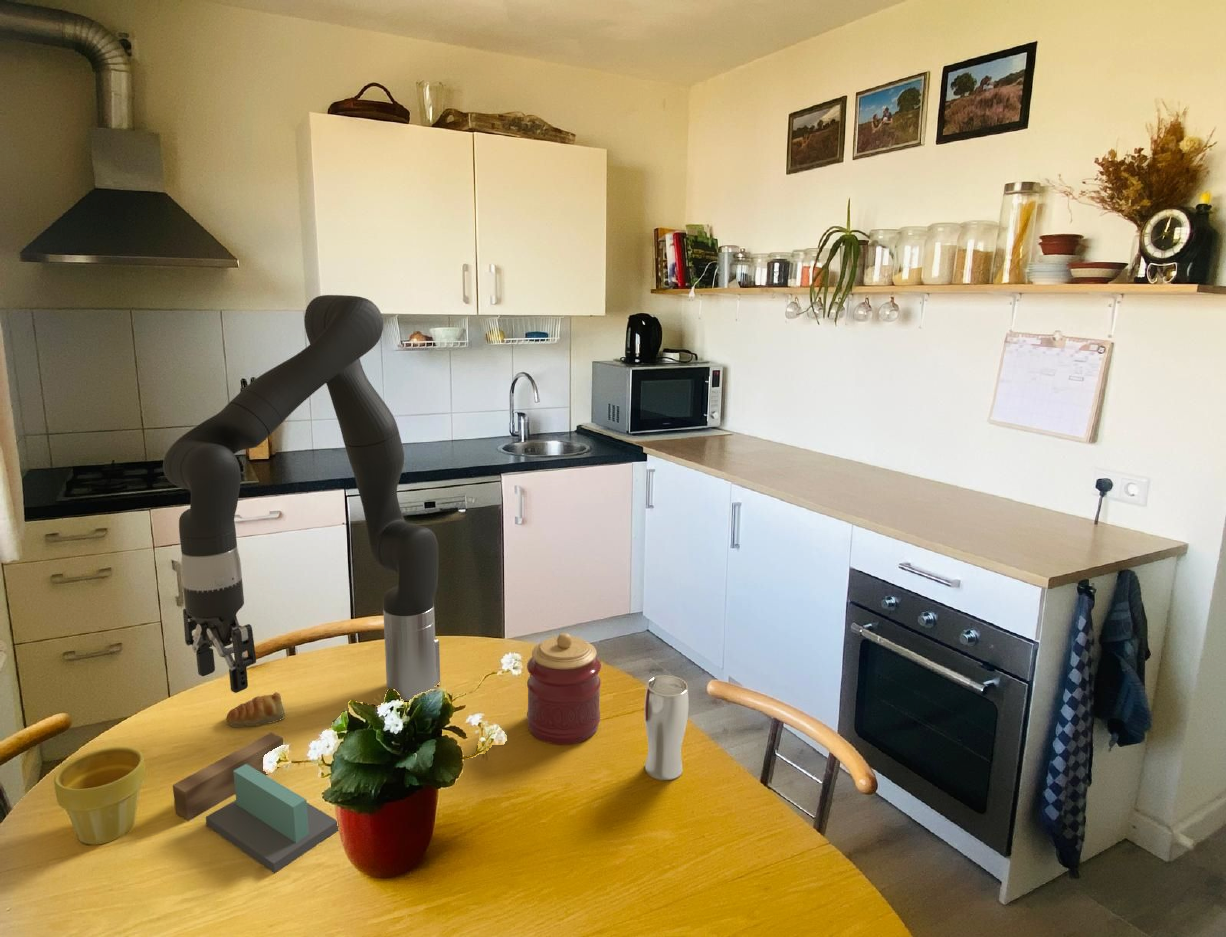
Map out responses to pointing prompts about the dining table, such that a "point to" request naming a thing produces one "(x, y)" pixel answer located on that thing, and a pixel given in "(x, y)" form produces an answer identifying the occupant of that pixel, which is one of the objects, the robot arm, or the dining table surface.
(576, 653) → the canister
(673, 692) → the beer glass
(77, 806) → the plant pot
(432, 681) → the robot arm
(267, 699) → the pastry
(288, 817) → the ridge stand
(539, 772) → the dining table surface
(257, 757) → the walnut beam
